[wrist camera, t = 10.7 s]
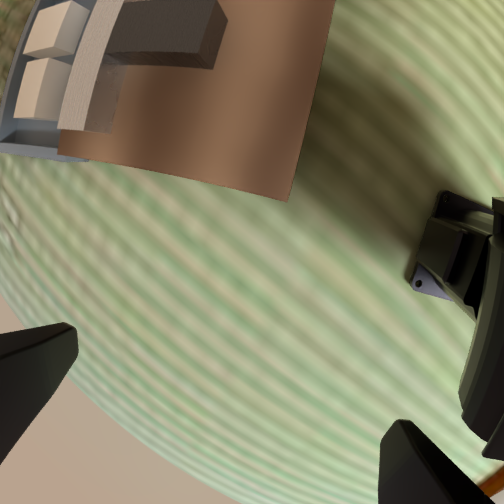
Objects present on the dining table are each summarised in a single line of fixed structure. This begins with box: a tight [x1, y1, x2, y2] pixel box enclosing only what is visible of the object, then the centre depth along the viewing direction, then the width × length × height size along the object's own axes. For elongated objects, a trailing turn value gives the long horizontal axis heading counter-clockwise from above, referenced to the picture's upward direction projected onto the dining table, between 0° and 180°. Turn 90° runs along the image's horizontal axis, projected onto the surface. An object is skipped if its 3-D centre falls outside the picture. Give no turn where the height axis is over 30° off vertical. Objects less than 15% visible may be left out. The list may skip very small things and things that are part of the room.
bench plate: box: [57, 0, 335, 202], centre depth 14 cm, size 14×14×4 cm
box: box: [0, 0, 97, 162], centre depth 15 cm, size 10×15×2 cm, turn 167°
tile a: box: [23, 0, 90, 59], centre depth 14 cm, size 4×4×2 cm
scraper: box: [57, 0, 228, 134], centre depth 11 cm, size 2×11×7 cm
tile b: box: [13, 58, 73, 121], centre depth 15 cm, size 4×4×2 cm
